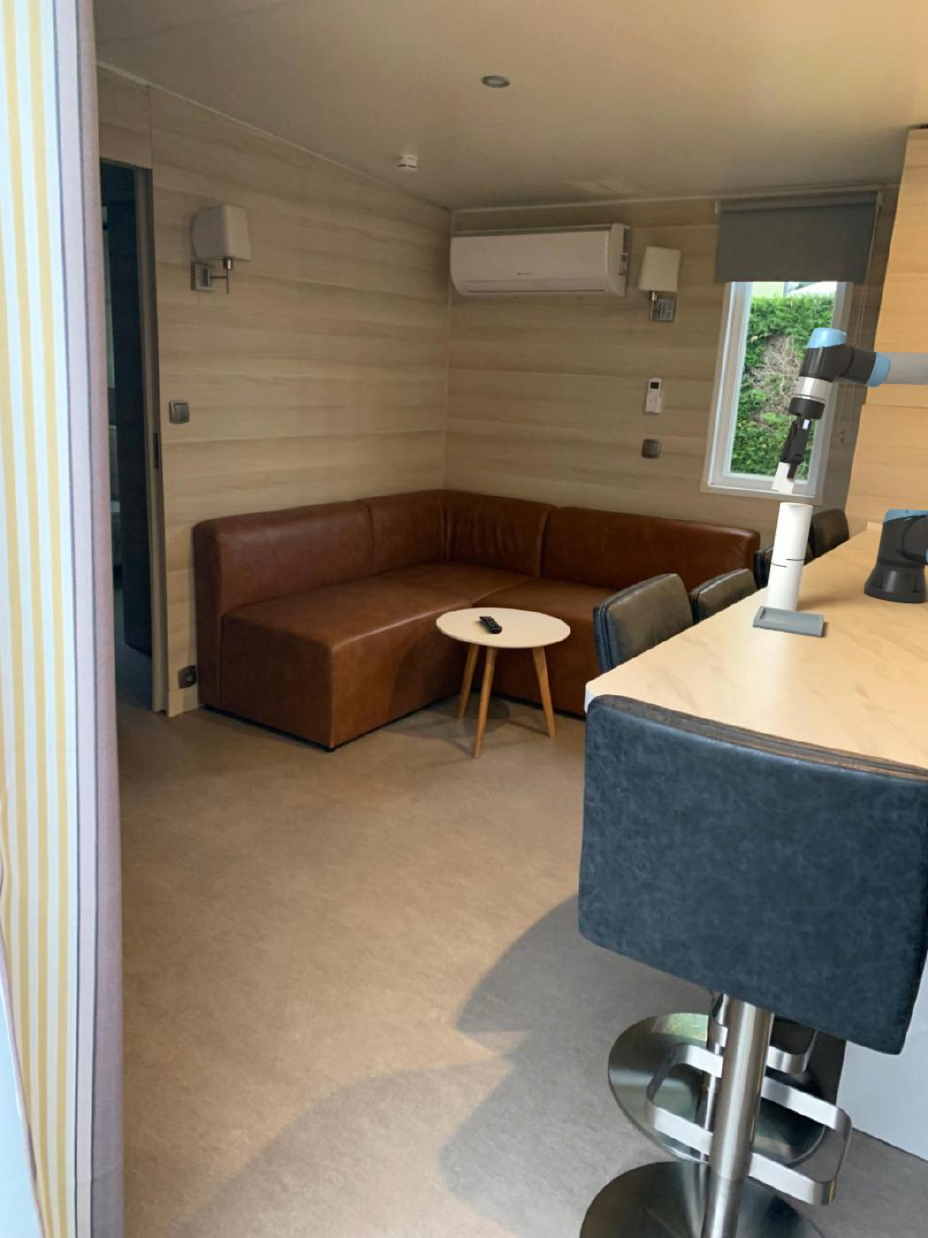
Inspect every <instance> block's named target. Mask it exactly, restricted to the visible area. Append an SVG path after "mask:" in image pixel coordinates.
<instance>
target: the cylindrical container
mask: <svg viewBox="0 0 928 1238" xmlns="http://www.w3.org/2000/svg"><path fill="white" fill-rule="evenodd" d="M813 508H814V506H813V505H811V504H807V503H801V502H799V503H798V502H789V501H788V502H785V501H784V502H780V504H779V510H778V511H779V512H778V518H777V523H776V530H775V534H774V535H775V536H774V543H773V549H772V556H771V562H770V569H769V575H768V582H767V587H766V592H765V593H766V595H765V601H764V606H765V607H772V608H779V609H785V610H792V611H797V604H798V600H799V593H800V588H801V587H800V586H801V582H802V581H801V580H802V576H803V575H802V574H803V569H804V564H805V563H804V562H805V557H806V552H807V545H808V538H809V532H810V527H811V519H812V515H813Z"/></svg>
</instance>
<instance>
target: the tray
mask: <svg viewBox="0 0 928 1238" xmlns="http://www.w3.org/2000/svg"><path fill="white" fill-rule="evenodd" d="M824 619H825V614H818V613H810V612H804V611H798V610H796V611H792V610H785V609H779V608H772V607H765V605H759V608H758V610H757V612H756V614H755V616H754V618H753V622H752V628H756V627H760V628H759V629H762V628H767V629H766V630H769V629H773V630H772V631H775V630H779V631H778V632H781V631H783V632H782V633H789V634H793V635H794V634H796V635H802V636H807V635H809V636H808V637H813V636H815V637H814V638H821V637H822V632H823V627H824V621H825V620H824Z"/></svg>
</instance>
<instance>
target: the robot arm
mask: <svg viewBox="0 0 928 1238" xmlns="http://www.w3.org/2000/svg"><path fill="white" fill-rule="evenodd" d="M847 335H848V334H847V333H846V332H844V331H843V330H839V329H836V328H831V327H817V328H814V330H813V331H812V332H811V336H809V339H808V343H807V345H806V348H805V349H806V350H805V353H804V357H803V359H802V363H801V367H800V370H799V373H798V377H797V380H794V381H793V386H795V387H794V390H793V395H794V396H795V397H792V398H790V402H789V405H788V410H787V413H788V414H789V415H791V416H796V418H795V420H792V422H791V424H790V426H789V432H788V434H787V437H786V440H785V442H784V445H783V448H782V451H781V452H780V455H779V463H778V466H777V468H776V469H777V470H776V472H775V475H774V479H773V482H772V485H771V490H775V491H778V492H779V493H783V494H787V495H792V493H793V489H794V485H795V483H796V479H797V477H798V476H797V475H798V473H799V469H800V467H801V465H802V463H803V462H804V460H805V459H804V457H805V454H806V450H807V444H808V440H809V436H810V432H811V430H812V426H813V420H815V421H820V420H821V419H822V418H823V414H824V411H825V408H826V404H825V402H827V401H828V399H829V397H830V393H831V390H832V387H833V383H836V384H837V383H838V384H856V385H861V386H862V387H867V388H869V387H870V388H877V387H879V386H881V385H909V386H910V385H912V386H914V385H915V386H928V352H909V351H908V352H907V351H906V352H905V351H904V352H902V351H901V352H900V351H876V350H875V351H873V350H870V349H865V348H862V347H857V346H853V345H852V344H851V345H850V344H849V343H847V338H848V336H847ZM881 524H882V528H881V532H880V533H881V534H880V540H879V545H878V550H877V555H876V556H877V557H876V561H875V565H874V567H873V569H872V570H871V572H870V574H869V575H868V577H867V579H866V580H865V583H864V586H863V591H864V592H863V593H864V594H866V595H868V596H870V597H874V598H877V599H881V600H886V601H890V602H897V603H898V602H899V603H908V604H911V603H912V604H913V603H914V604H915V603H916V604H917V603H919V604H921V603H924V602H926V601H927V597H928V585H927V579H926V573H925V571H926V570H925V569H926V566H928V509H927V510H925V509H906V508H905V509H903V508H890V509H888V510H887V511H886V512H885V515H884V518H883V522H882V523H881Z"/></svg>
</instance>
